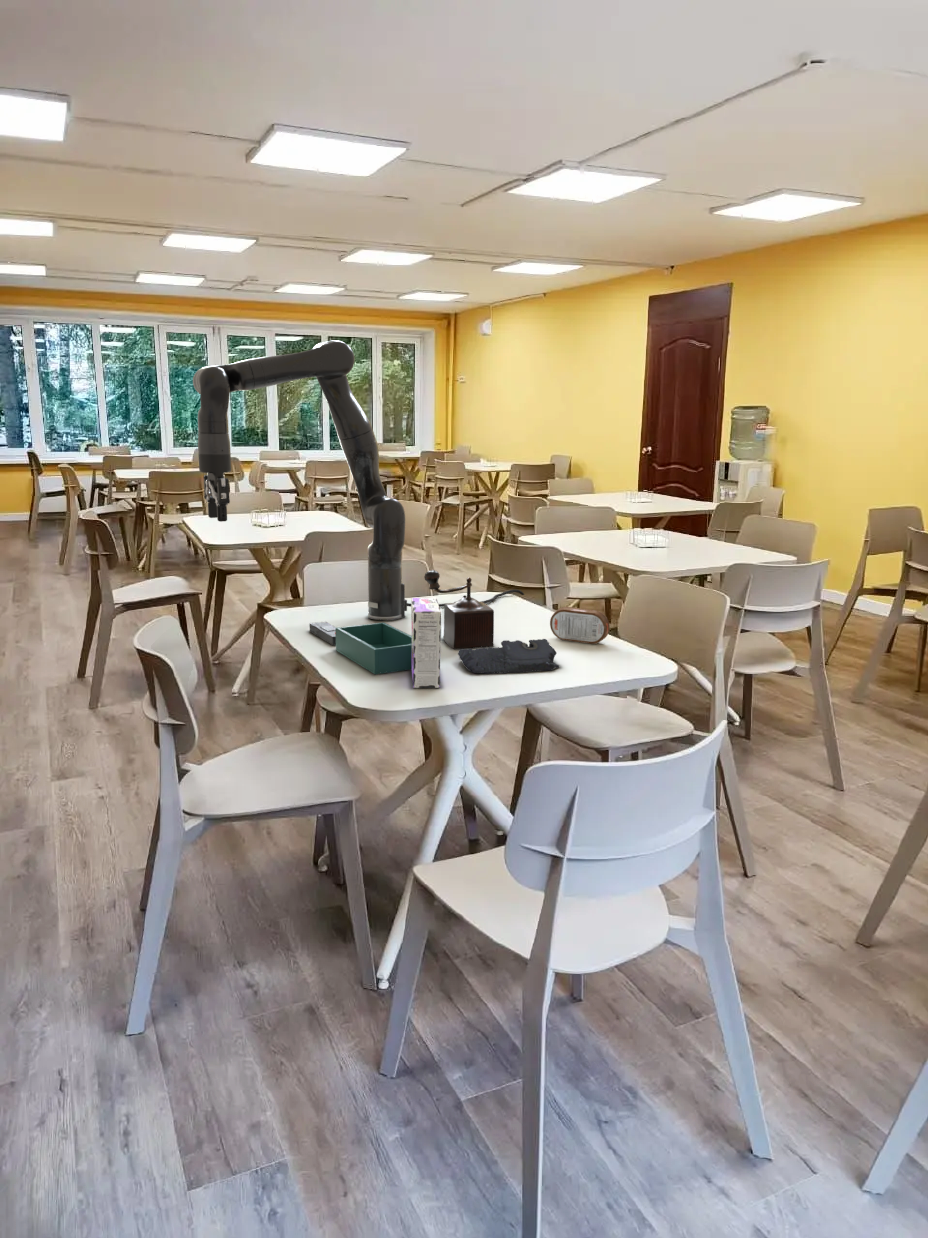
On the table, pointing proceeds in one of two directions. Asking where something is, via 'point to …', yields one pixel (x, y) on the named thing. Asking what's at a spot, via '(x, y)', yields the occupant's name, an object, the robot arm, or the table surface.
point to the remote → (324, 631)
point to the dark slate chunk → (510, 657)
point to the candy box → (425, 642)
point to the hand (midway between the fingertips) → (217, 519)
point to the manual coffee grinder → (465, 618)
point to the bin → (376, 647)
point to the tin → (579, 625)
